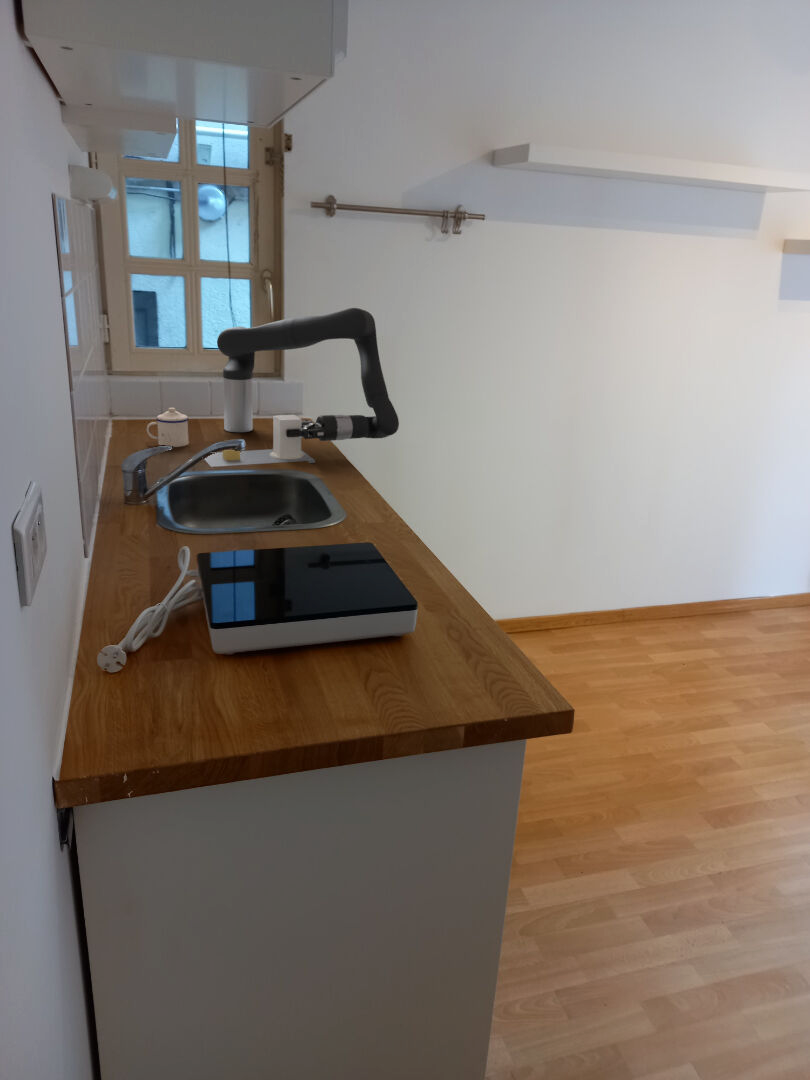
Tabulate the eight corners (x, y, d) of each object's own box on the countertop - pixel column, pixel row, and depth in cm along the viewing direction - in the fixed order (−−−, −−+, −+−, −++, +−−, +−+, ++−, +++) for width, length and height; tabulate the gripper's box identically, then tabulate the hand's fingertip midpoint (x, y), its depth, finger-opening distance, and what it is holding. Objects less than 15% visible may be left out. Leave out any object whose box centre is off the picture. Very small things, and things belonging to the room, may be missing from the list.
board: (199, 456, 225) (198, 452, 224) (298, 451, 238) (298, 447, 237) (211, 470, 212) (211, 466, 212) (315, 463, 225) (315, 459, 225)
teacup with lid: (190, 443, 239) (188, 405, 235) (188, 450, 231) (186, 411, 227) (149, 442, 237) (147, 404, 233) (146, 450, 229) (143, 410, 224)
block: (222, 457, 222) (222, 446, 221) (236, 456, 224) (236, 446, 223) (226, 460, 219) (225, 450, 218) (240, 459, 221) (239, 449, 220)
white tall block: (273, 452, 230) (273, 415, 226) (294, 451, 233) (294, 414, 229) (280, 457, 224) (280, 420, 221) (301, 456, 227) (301, 419, 223)
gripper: (326, 410, 237) (274, 412, 230) (343, 420, 225) (289, 422, 218) (325, 434, 239) (274, 437, 232) (342, 445, 228) (289, 448, 221)
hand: (282, 430), depth 225 cm, fingers open, 8 cm apart
